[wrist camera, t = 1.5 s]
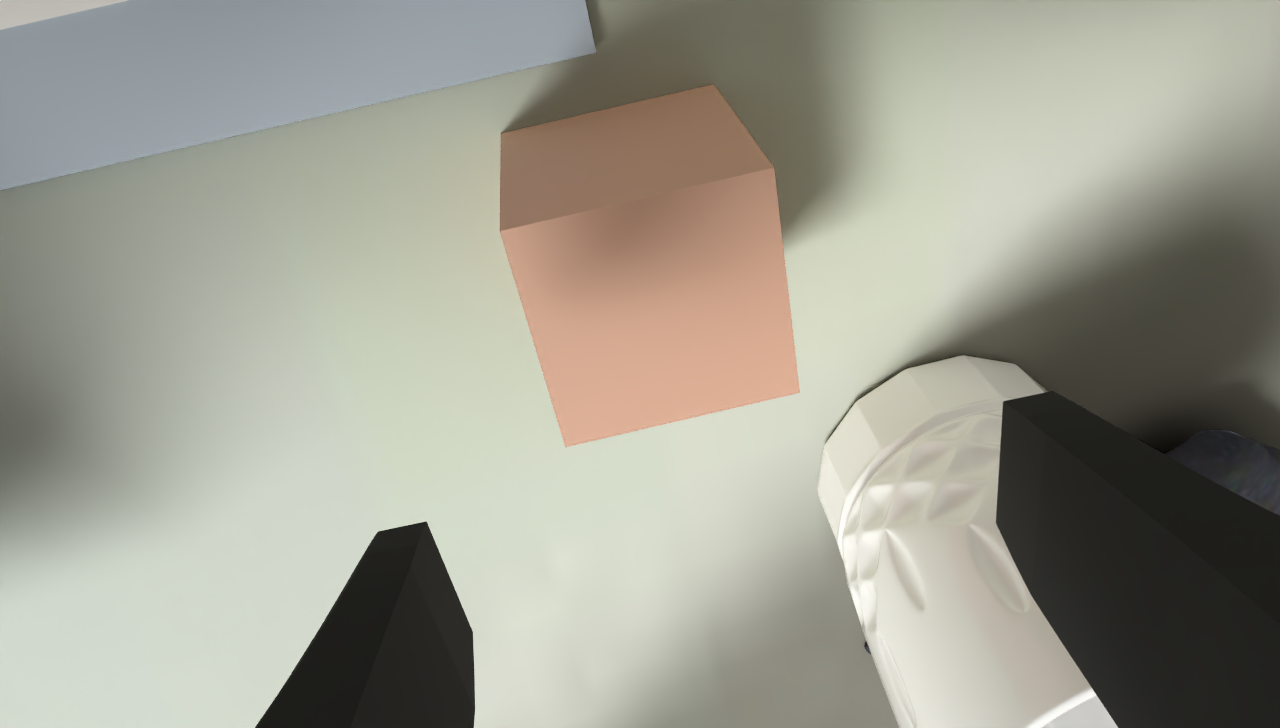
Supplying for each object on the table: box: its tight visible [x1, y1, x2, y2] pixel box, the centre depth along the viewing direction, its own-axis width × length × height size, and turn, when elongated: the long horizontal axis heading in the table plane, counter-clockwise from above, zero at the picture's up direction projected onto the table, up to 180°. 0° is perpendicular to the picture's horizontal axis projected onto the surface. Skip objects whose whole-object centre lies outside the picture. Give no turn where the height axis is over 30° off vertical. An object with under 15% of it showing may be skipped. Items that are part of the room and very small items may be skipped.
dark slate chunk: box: [864, 429, 1280, 654], centre depth 29 cm, size 15×22×5 cm
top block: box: [500, 84, 800, 447], centre depth 18 cm, size 4×4×5 cm
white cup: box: [817, 355, 1118, 728], centre depth 21 cm, size 8×8×10 cm
